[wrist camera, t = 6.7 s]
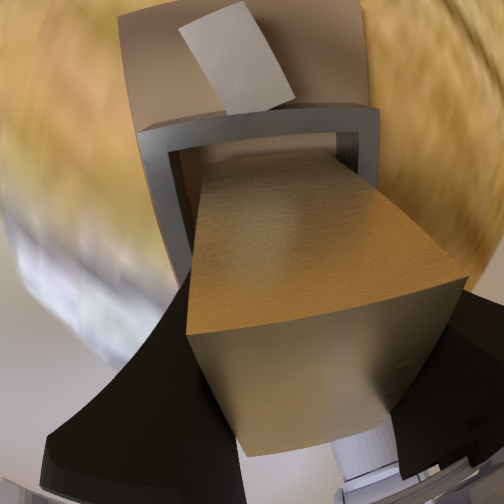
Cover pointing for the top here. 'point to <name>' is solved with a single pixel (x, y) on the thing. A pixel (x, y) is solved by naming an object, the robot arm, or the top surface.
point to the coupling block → (310, 299)
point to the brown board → (242, 95)
